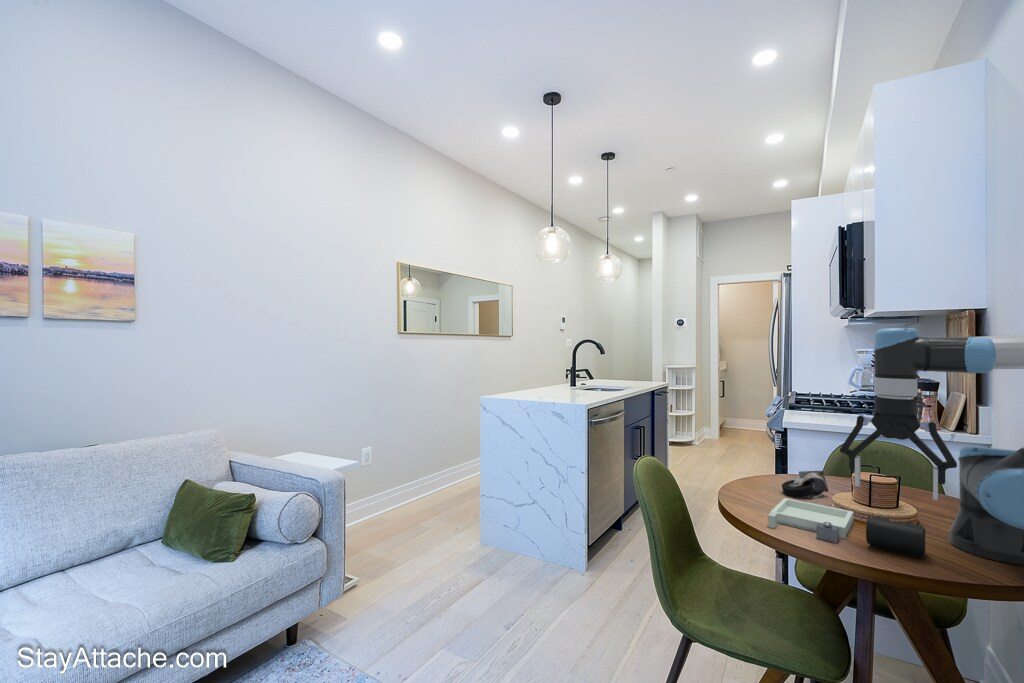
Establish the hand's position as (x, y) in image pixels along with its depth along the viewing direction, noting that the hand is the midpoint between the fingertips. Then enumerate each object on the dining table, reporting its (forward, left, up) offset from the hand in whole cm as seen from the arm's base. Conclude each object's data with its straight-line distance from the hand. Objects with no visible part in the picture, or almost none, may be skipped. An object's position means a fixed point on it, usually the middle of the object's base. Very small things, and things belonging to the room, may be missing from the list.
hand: (894, 491), depth 106 cm
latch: (+12, +2, -13) cm, 18 cm away
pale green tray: (+17, -6, -13) cm, 23 cm away
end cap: (0, 0, -14) cm, 14 cm away
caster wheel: (+23, -31, -14) cm, 41 cm away
